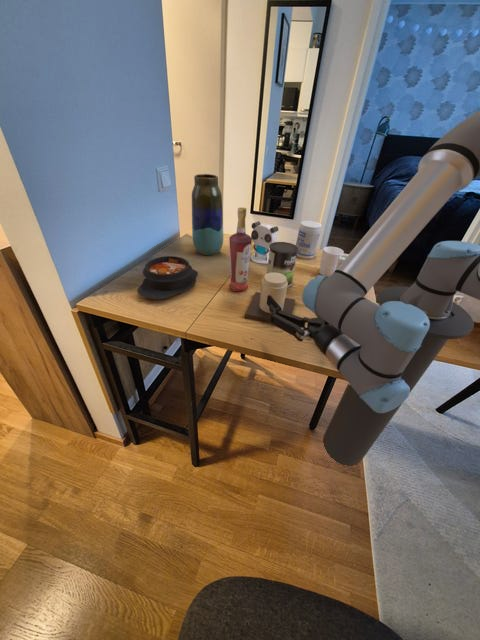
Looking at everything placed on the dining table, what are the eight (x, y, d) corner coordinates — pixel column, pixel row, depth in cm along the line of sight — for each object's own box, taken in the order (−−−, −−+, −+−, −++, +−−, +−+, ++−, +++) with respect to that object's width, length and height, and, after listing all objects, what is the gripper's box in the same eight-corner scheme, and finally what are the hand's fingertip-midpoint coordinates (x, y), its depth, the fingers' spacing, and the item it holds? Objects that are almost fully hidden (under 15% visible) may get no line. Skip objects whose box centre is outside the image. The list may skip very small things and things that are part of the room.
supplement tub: (292, 257, 120) (297, 224, 111) (296, 249, 127) (302, 219, 118) (313, 261, 118) (320, 228, 109) (316, 253, 125) (323, 222, 116)
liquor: (238, 296, 91) (243, 213, 74) (224, 288, 95) (224, 208, 78) (252, 289, 95) (259, 209, 78) (237, 281, 99) (241, 204, 82)
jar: (285, 302, 87) (290, 274, 80) (281, 315, 81) (286, 286, 74) (262, 297, 88) (265, 269, 82) (256, 310, 82) (259, 281, 76)
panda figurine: (244, 257, 117) (246, 224, 108) (259, 250, 124) (262, 218, 115) (265, 266, 111) (269, 231, 102) (280, 258, 118) (285, 225, 109)
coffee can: (297, 283, 101) (304, 248, 92) (279, 291, 95) (285, 255, 87) (277, 273, 107) (282, 239, 98) (259, 280, 101) (263, 245, 92)
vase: (193, 246, 125) (189, 172, 106) (222, 246, 127) (222, 173, 108) (192, 258, 114) (187, 178, 95) (224, 258, 116) (225, 179, 97)
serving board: (294, 303, 89) (295, 299, 88) (288, 327, 79) (289, 323, 78) (255, 295, 92) (255, 291, 91) (244, 317, 81) (244, 313, 81)
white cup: (340, 274, 108) (348, 251, 102) (328, 279, 104) (334, 255, 98) (326, 267, 113) (332, 245, 107) (313, 271, 109) (319, 248, 103)
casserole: (170, 266, 107) (167, 247, 102) (209, 277, 101) (209, 257, 96) (125, 295, 88) (119, 272, 83) (169, 310, 83) (166, 287, 78)
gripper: (285, 371, 55) (248, 314, 70) (376, 345, 62) (324, 299, 78) (291, 345, 50) (249, 290, 66) (389, 321, 58) (331, 277, 73)
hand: (290, 295), depth 72 cm, fingers open, 13 cm apart
